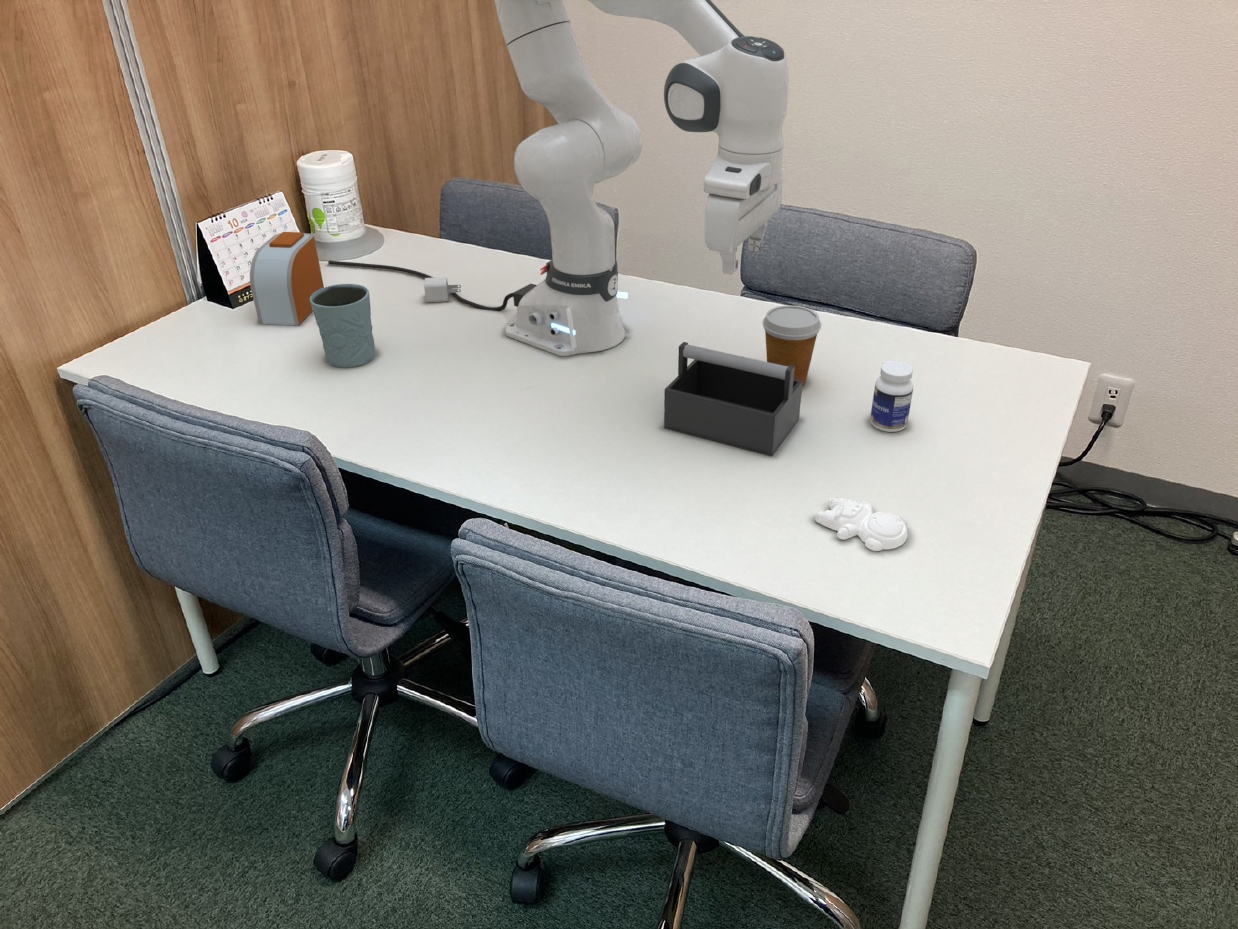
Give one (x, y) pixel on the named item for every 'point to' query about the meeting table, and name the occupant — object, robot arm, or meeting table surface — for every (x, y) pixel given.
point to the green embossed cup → (344, 324)
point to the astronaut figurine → (863, 524)
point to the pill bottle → (892, 397)
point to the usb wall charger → (438, 289)
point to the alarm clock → (285, 278)
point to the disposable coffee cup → (791, 337)
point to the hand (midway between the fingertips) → (742, 260)
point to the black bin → (732, 399)
